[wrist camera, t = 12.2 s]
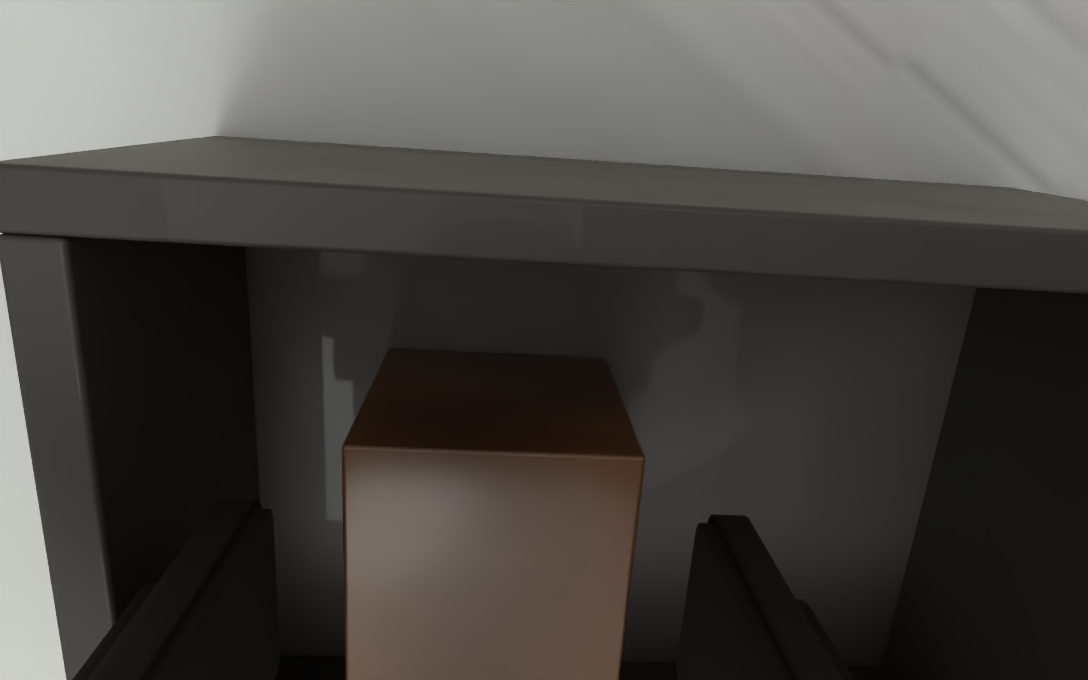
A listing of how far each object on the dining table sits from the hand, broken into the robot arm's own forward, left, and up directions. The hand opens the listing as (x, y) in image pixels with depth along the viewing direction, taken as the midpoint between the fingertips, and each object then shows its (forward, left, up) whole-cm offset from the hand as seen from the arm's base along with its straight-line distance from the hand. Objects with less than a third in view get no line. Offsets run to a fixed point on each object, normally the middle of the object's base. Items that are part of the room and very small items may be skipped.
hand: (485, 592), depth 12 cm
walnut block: (0, 0, -5) cm, 5 cm away
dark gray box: (-2, 0, -6) cm, 6 cm away
